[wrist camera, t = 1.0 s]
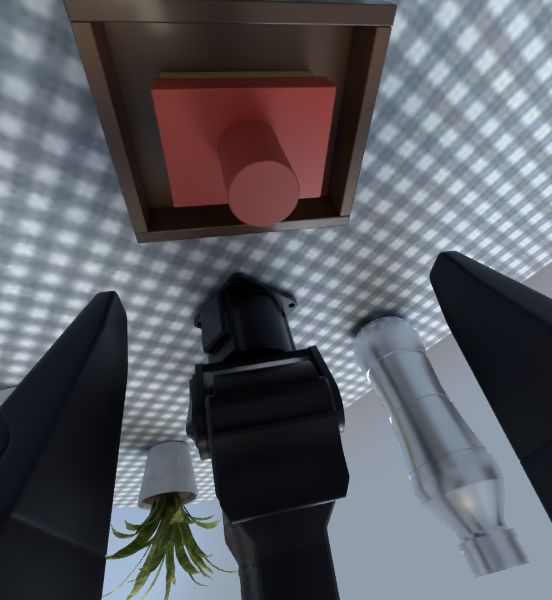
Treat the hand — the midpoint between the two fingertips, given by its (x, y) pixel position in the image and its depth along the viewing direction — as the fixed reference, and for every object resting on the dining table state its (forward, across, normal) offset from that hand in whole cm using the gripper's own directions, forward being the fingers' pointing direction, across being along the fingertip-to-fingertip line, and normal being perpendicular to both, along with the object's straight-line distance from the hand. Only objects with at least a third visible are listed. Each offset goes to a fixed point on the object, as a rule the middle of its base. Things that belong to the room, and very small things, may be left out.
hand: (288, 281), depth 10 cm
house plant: (+13, +10, +41) cm, 44 cm away
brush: (+12, 0, 0) cm, 12 cm away
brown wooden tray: (+13, 0, 0) cm, 13 cm away
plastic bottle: (+13, -13, +21) cm, 28 cm away
